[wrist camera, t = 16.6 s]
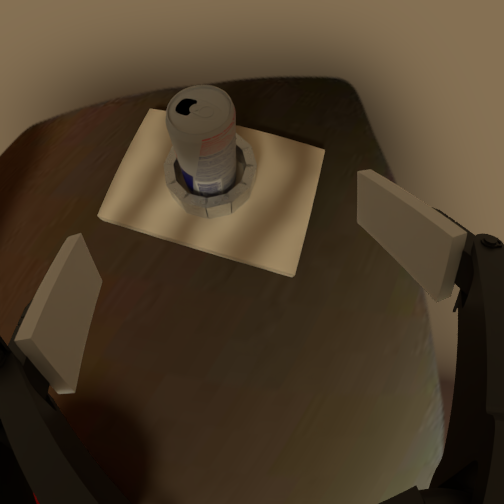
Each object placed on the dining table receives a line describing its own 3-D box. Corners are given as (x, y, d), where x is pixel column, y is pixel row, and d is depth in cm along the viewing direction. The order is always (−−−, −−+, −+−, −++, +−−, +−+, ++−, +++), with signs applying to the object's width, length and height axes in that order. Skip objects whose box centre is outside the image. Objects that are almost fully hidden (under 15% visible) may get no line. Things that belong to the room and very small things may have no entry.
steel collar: (158, 205, 32) (150, 193, 29) (188, 136, 34) (184, 120, 31) (239, 228, 31) (239, 218, 28) (263, 154, 33) (266, 139, 31)
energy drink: (199, 151, 33) (185, 76, 22) (244, 167, 33) (247, 93, 21) (177, 191, 32) (149, 125, 20) (223, 209, 32) (216, 146, 20)
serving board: (102, 220, 33) (97, 215, 31) (152, 115, 36) (150, 108, 35) (292, 277, 32) (294, 275, 30) (321, 156, 35) (325, 149, 34)
